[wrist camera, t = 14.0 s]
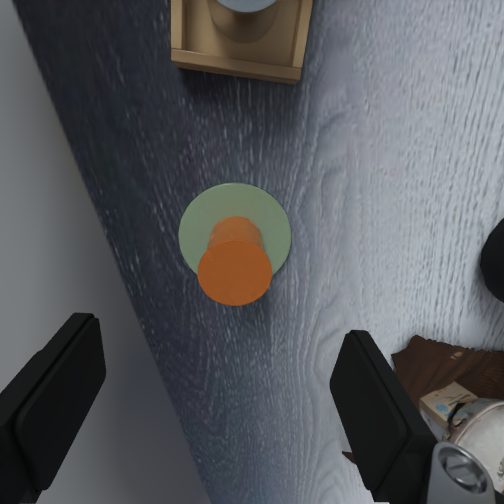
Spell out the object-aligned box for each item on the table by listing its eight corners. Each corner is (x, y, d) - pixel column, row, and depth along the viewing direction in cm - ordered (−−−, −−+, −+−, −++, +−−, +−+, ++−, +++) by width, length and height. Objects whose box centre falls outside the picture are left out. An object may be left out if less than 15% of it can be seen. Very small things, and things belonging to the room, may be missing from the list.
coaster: (179, 280, 24) (177, 284, 23) (180, 175, 20) (179, 176, 20) (280, 289, 25) (281, 292, 24) (299, 189, 21) (301, 190, 20)
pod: (205, 264, 23) (195, 303, 18) (208, 210, 21) (199, 236, 16) (260, 269, 23) (266, 308, 18) (268, 216, 21) (277, 244, 16)
